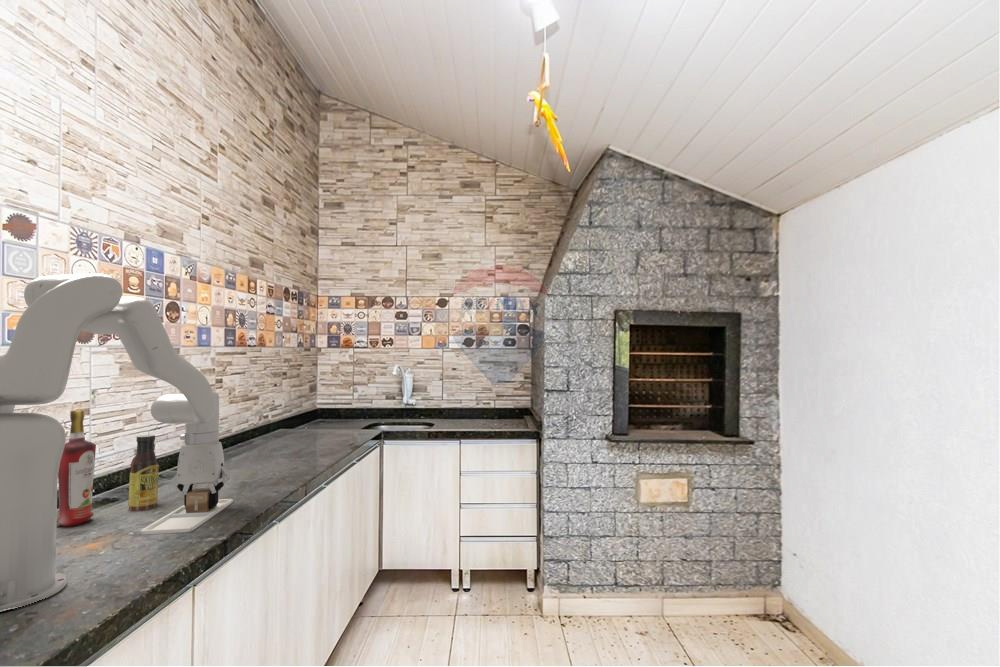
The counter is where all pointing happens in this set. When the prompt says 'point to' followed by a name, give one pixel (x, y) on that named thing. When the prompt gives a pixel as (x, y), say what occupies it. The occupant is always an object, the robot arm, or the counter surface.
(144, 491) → the sauce bottle
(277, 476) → the counter surface
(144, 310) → the robot arm
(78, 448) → the liquor
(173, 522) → the tray
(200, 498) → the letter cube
